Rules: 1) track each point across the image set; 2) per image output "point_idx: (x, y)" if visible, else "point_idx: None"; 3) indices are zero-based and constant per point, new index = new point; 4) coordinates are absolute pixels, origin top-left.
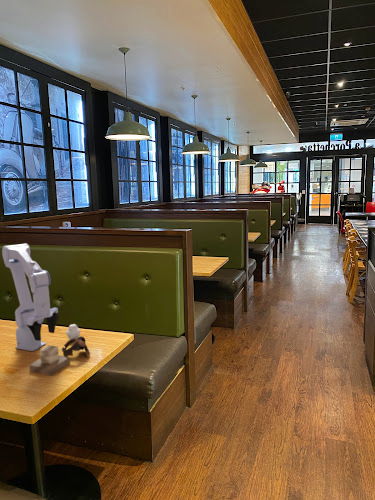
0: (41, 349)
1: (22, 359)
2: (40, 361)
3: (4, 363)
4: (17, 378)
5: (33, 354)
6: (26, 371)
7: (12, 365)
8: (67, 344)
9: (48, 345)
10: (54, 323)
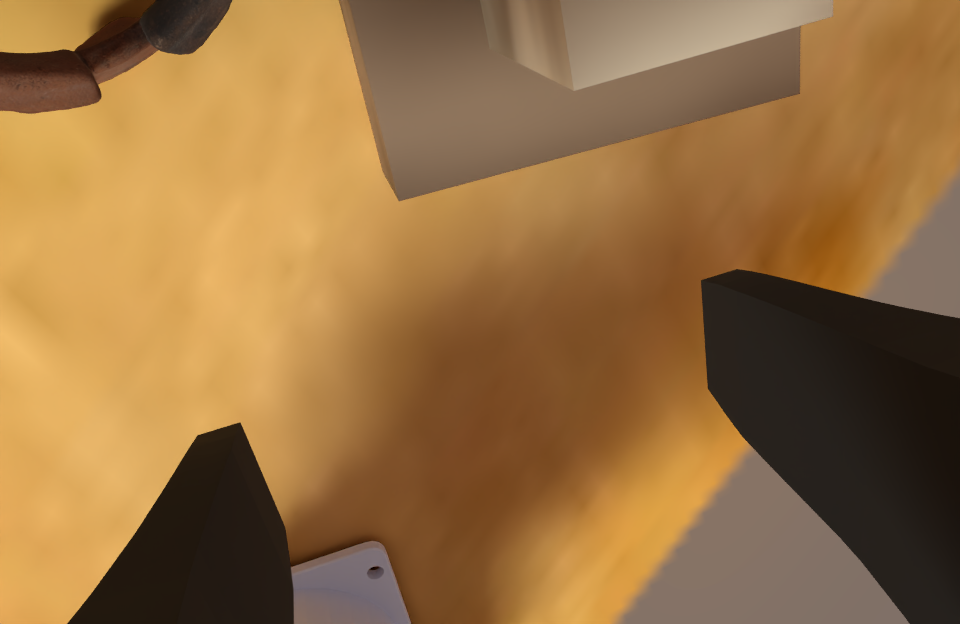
0: (804, 7)
1: (573, 437)
2: None
3: (719, 485)
4: (924, 39)
5: (419, 463)
6: (764, 110)
7: None
8: (17, 54)
9: (587, 65)
10: (164, 616)
